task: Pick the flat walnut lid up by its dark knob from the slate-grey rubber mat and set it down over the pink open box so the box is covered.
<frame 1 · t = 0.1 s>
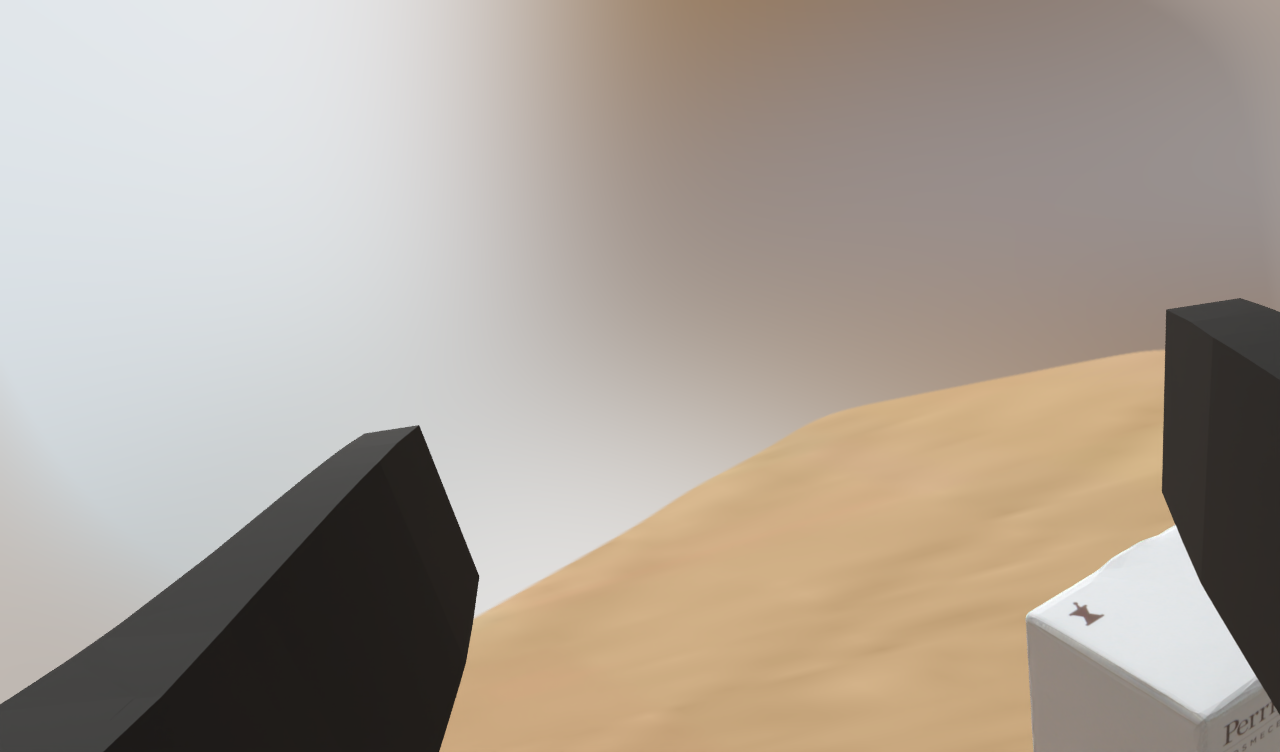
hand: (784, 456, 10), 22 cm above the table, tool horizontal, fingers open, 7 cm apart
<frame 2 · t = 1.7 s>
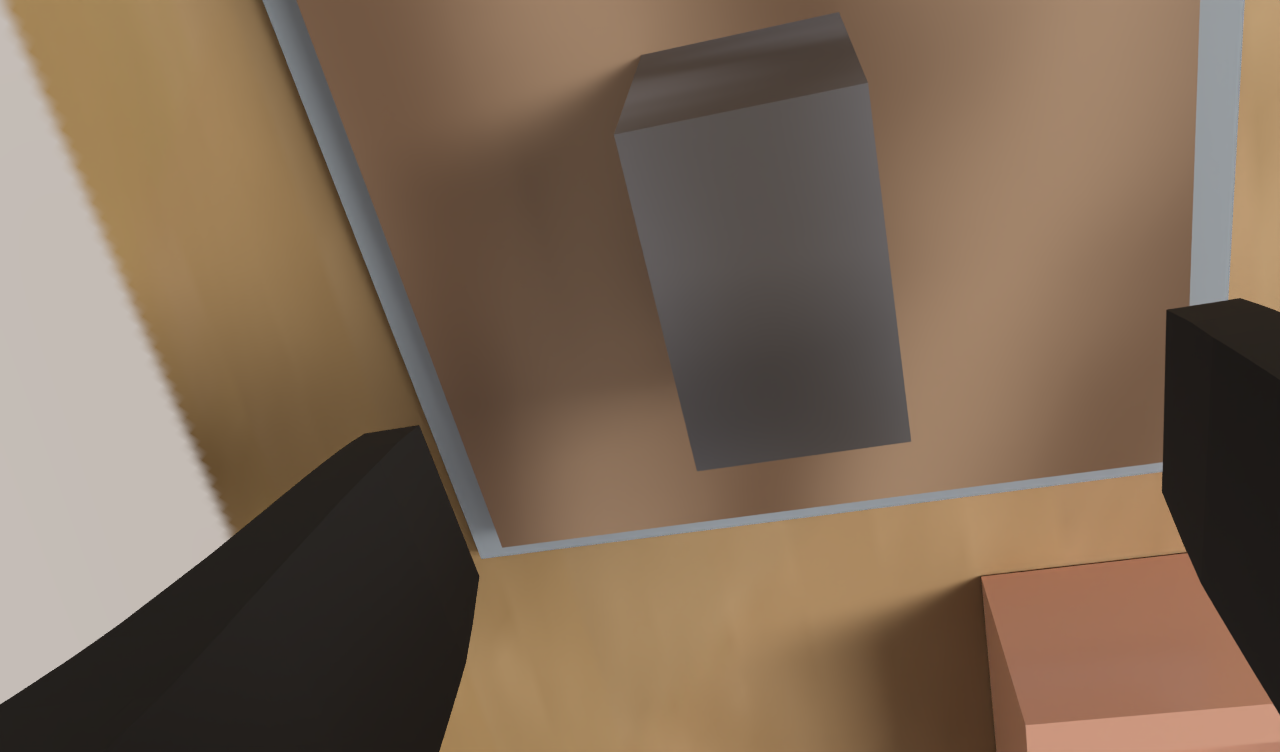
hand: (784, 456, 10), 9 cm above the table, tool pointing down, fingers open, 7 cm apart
rubber mat: (764, 161, 18), on the table
pink open box: (1220, 715, 24), on the table
walnut lid: (764, 169, 17), resting on rubber mat
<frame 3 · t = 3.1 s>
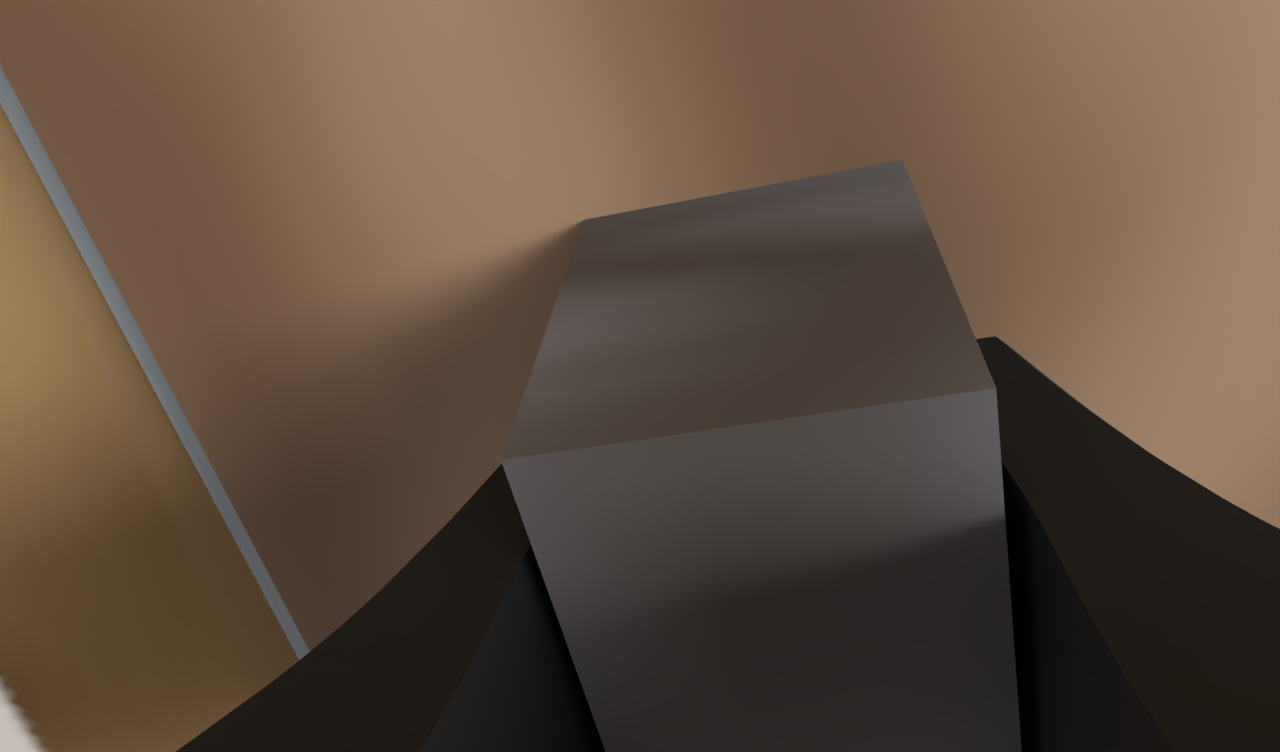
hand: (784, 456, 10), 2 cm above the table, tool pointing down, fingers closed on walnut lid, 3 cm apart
rubber mat: (777, 348, 12), on the table
walnut lid: (778, 365, 12), resting on rubber mat, touching gripper
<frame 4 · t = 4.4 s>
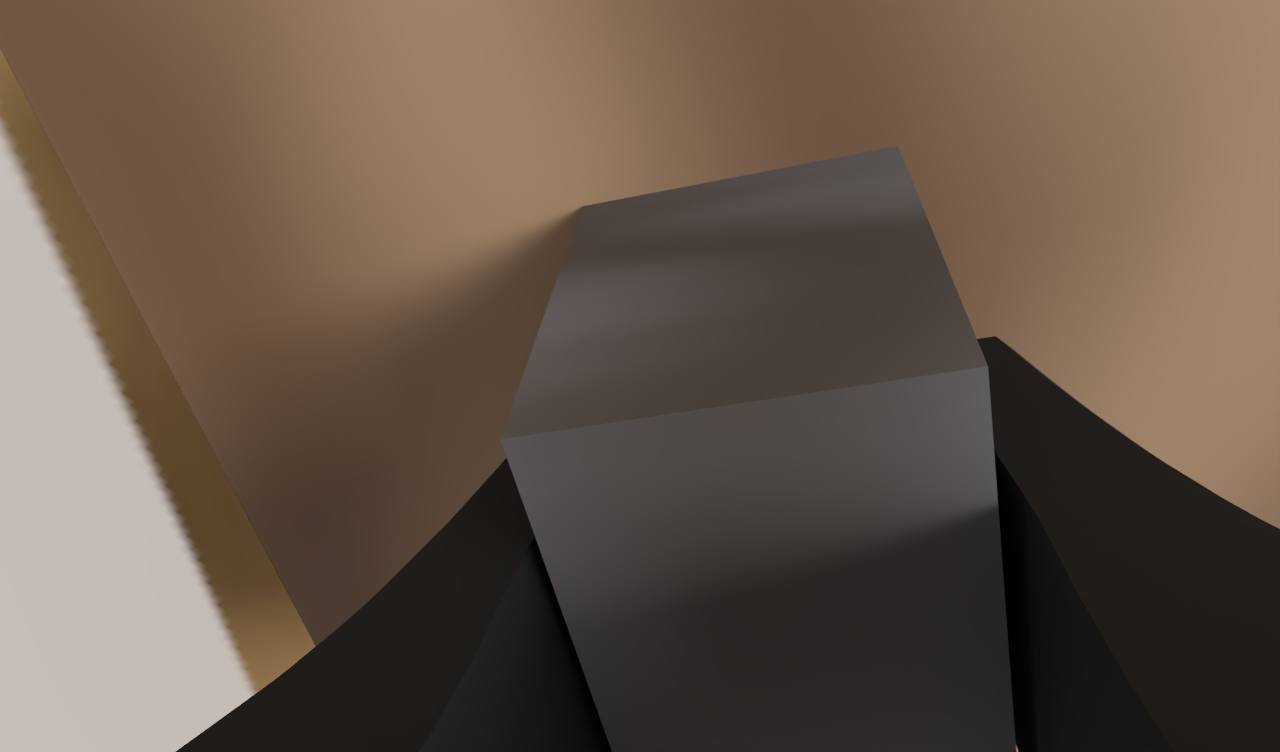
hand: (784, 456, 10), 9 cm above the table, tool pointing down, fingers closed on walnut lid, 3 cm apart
walnut lid: (775, 352, 12), point 7 cm above the table, touching gripper
when the fingers open (7 cm above the table, at t = 5.9 s): walnut lid drops 1 cm, resting on pink open box.
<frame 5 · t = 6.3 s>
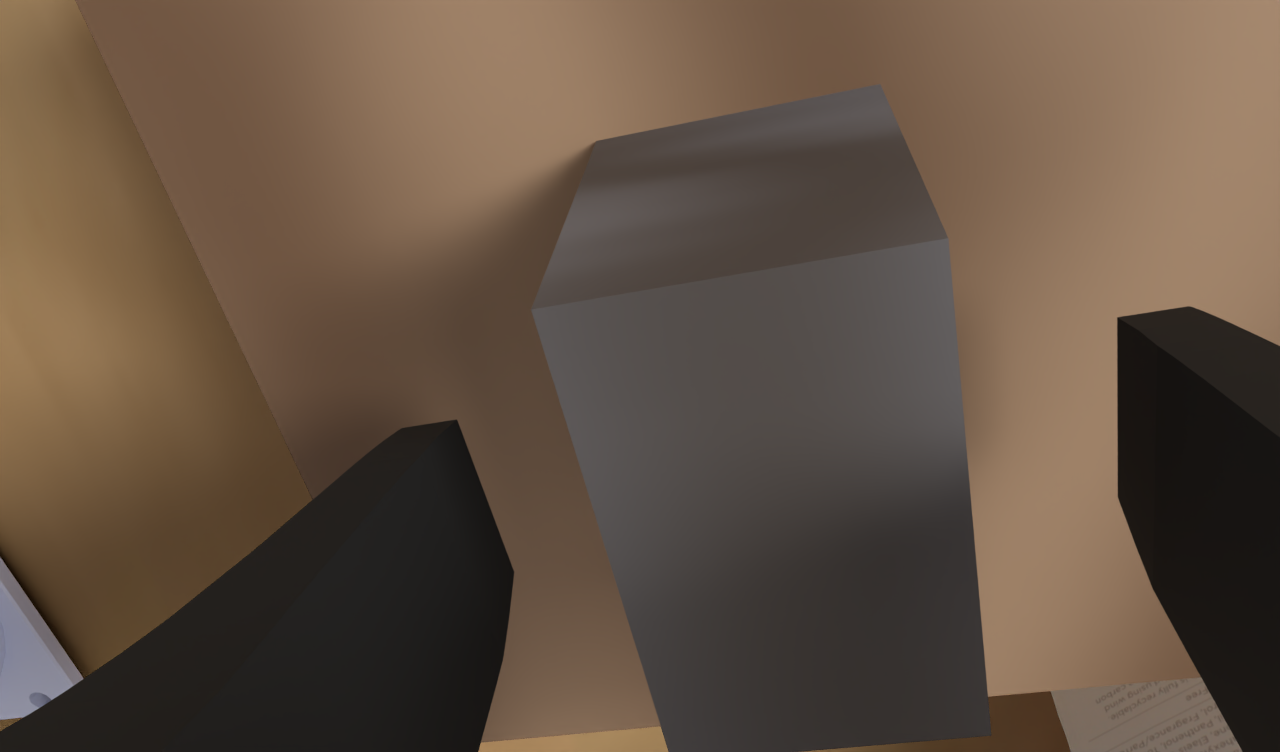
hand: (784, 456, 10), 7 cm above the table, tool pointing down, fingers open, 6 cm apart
skincare box: (1204, 672, 21), on the table
walnut lid: (770, 285, 13), point 4 cm above the table, touching pink open box
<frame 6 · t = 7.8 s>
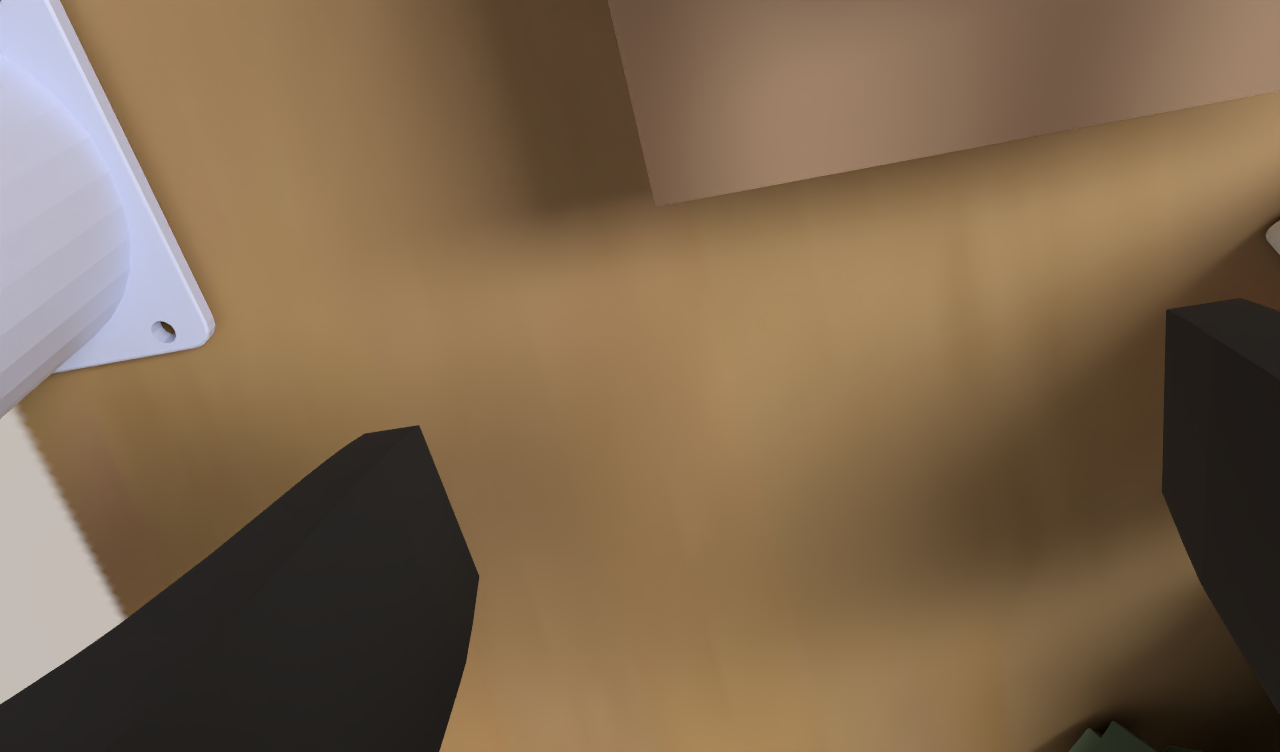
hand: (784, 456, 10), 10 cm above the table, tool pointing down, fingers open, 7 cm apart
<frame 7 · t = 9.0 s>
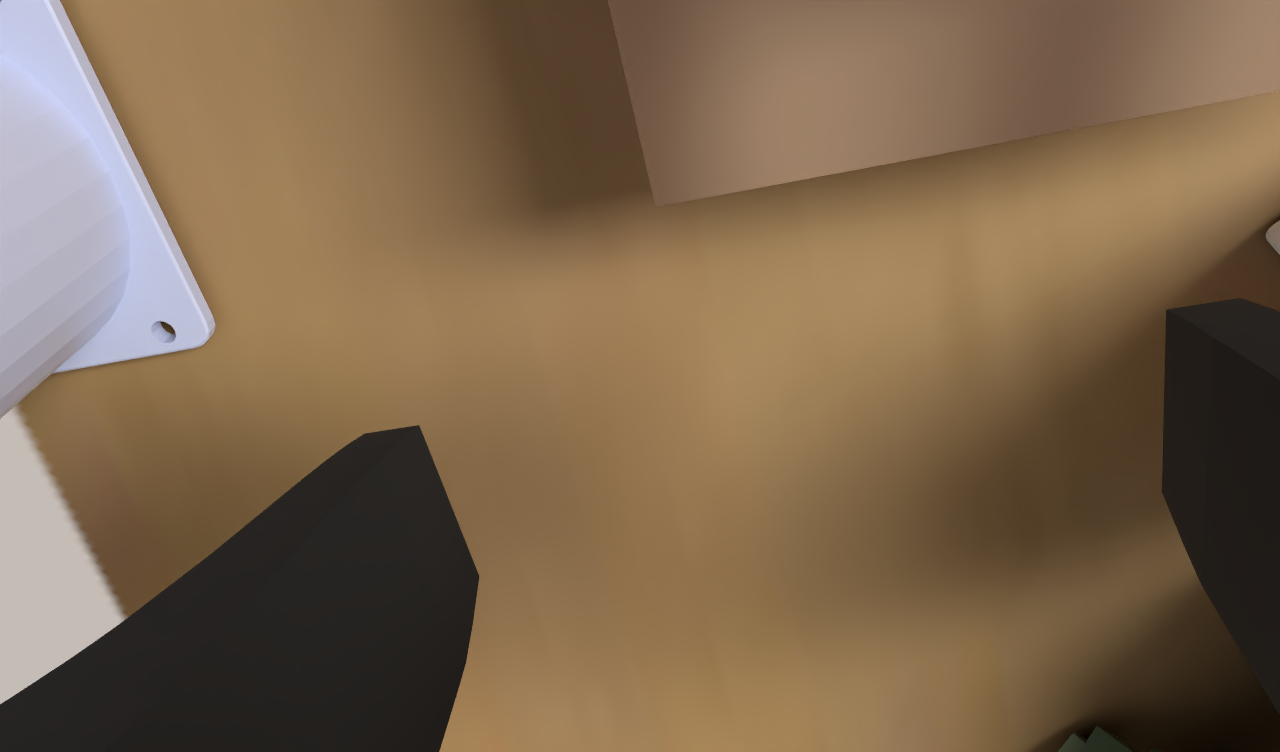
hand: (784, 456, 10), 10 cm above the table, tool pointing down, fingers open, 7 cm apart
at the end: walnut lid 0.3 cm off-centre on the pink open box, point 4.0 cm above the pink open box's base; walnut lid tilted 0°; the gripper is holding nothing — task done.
